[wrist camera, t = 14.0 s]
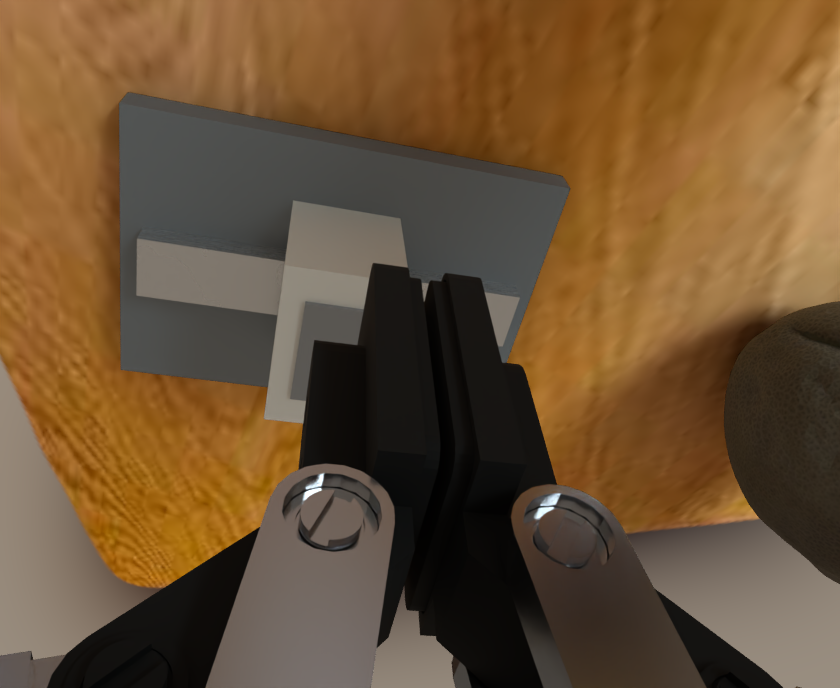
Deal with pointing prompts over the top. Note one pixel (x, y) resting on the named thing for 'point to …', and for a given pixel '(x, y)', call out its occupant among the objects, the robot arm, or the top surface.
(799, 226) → the top surface
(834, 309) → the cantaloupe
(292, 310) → the module
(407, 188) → the board
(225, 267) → the steel rail
